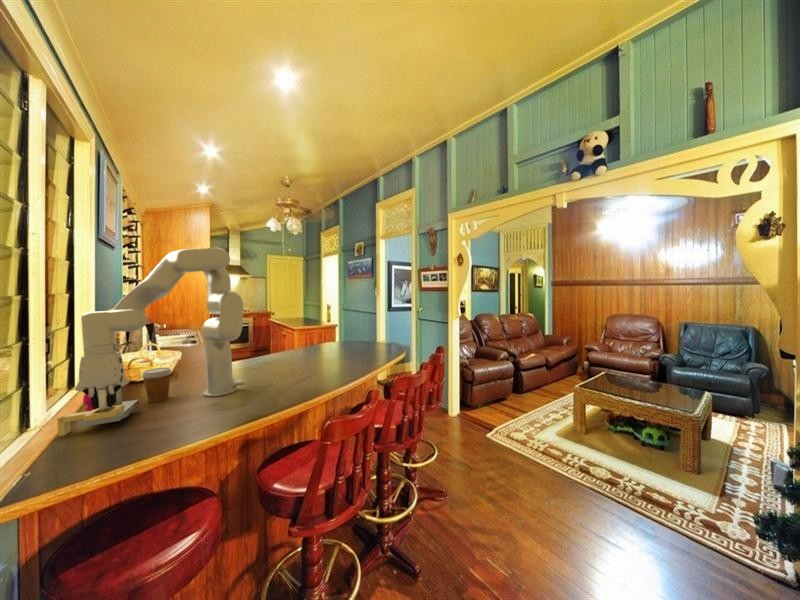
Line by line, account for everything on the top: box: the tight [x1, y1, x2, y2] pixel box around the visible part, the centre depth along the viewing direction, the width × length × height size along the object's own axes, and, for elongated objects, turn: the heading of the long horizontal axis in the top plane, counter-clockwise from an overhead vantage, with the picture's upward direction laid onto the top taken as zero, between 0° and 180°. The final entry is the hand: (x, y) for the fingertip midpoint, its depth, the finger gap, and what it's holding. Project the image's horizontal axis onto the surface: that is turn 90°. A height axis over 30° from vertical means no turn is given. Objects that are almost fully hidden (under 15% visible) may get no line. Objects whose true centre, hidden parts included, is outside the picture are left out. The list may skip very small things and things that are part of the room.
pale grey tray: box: [76, 381, 140, 428], centre depth 104 cm, size 10×17×12 cm, turn 24°
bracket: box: [56, 404, 124, 437], centre depth 99 cm, size 14×7×6 cm, turn 114°
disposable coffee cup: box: [141, 367, 173, 403], centre depth 125 cm, size 10×10×12 cm
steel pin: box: [95, 385, 111, 413], centre depth 100 cm, size 4×4×12 cm
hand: (104, 406), depth 100 cm, fingers closed on steel pin, 3 cm apart
